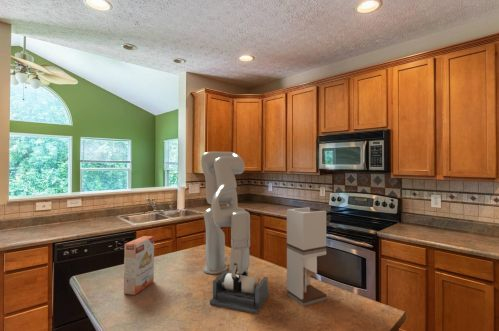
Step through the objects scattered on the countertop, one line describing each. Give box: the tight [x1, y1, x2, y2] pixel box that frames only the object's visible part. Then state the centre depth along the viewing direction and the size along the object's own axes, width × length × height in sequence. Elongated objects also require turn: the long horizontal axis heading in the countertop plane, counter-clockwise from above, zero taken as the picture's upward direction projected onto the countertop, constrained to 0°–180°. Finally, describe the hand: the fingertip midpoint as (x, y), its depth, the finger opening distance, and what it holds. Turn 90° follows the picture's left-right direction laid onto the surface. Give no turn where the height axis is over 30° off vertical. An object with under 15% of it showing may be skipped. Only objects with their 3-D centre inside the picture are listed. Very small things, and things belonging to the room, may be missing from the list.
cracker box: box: [123, 235, 155, 296], centre depth 119 cm, size 14×6×21 cm, turn 168°
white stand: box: [286, 206, 327, 307], centre depth 110 cm, size 11×11×35 cm
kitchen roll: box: [224, 272, 259, 294], centre depth 108 cm, size 6×12×6 cm, turn 69°
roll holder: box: [209, 270, 271, 315], centre depth 108 cm, size 16×19×8 cm
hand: (240, 287), depth 108 cm, fingers closed on kitchen roll, 6 cm apart
